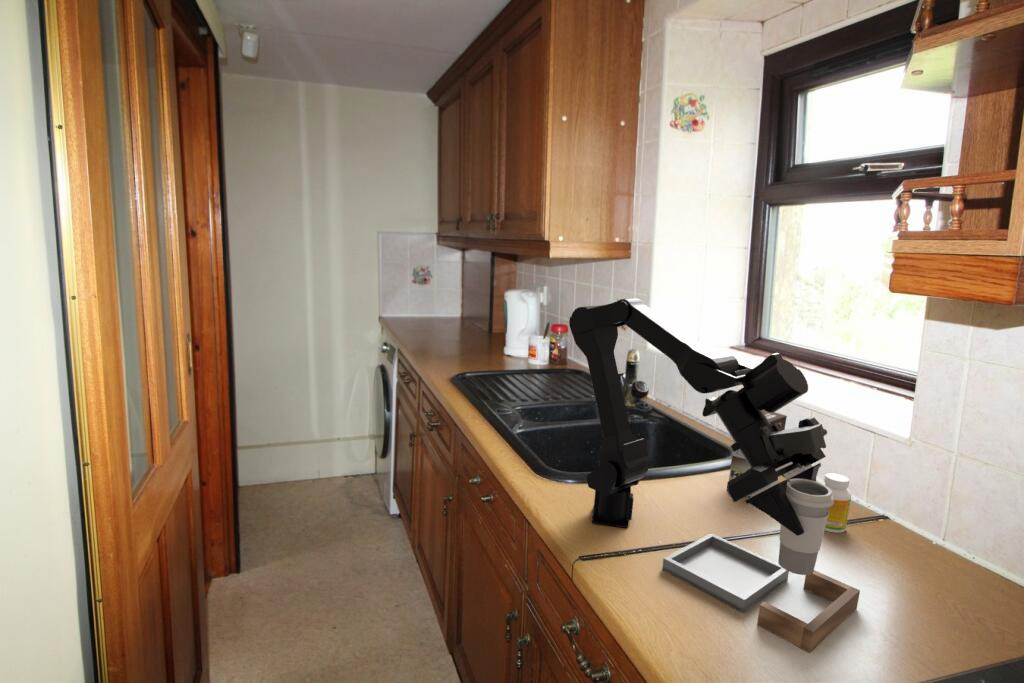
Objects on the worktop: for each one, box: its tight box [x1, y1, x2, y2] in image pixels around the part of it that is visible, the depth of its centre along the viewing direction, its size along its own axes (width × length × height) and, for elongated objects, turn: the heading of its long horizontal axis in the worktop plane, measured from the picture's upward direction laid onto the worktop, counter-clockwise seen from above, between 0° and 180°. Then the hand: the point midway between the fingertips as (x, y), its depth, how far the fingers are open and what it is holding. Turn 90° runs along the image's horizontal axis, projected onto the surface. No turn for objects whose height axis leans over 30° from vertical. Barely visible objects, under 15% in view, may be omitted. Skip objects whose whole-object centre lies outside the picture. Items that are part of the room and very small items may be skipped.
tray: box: [662, 533, 790, 613], centre depth 98 cm, size 14×14×2 cm
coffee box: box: [728, 410, 787, 498], centre depth 131 cm, size 9×6×16 cm
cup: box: [777, 478, 834, 576], centre depth 88 cm, size 7×7×12 cm
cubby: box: [756, 569, 861, 654], centre depth 89 cm, size 7×15×3 cm, turn 131°
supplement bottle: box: [823, 472, 852, 534], centre depth 116 cm, size 5×5×10 cm
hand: (812, 527), depth 87 cm, fingers closed on cup, 7 cm apart
